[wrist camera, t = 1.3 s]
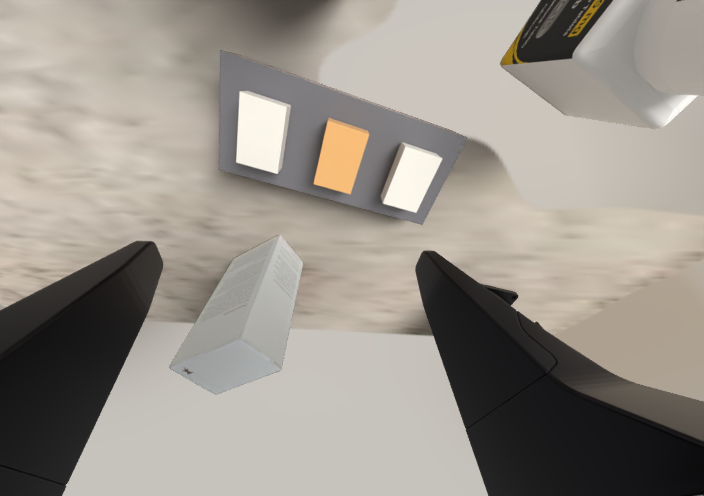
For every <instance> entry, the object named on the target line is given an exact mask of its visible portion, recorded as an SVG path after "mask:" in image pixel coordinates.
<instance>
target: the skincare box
mask: <svg viewBox="0 0 704 496" xmlns="http://www.w3.org/2000/svg"><path fill="white" fill-rule="evenodd" d="M302 267H303V262H302V260H301V259H300V258H299V257H298V256H297V254H296V253H295V252H294V251H293V250H292V248H291V247H290V246H289V245H288V244H287V242H286V241H285V240H284V239H283V237H282V236H281V235H278V236H276V237H274V238H272V239H270V240H268V241H266V242H264V243H262V244H261V245H259V246H257V247H255V248H253V249H251V250H249V251H247V252H245V253H243V254H242V255H240V256H238V257H236V258H234V259H233V261H232V263H231V264H230V266H229V268H228V269H227V271H226V272H225V274H224V276H223V277H222V279H221V281H220V282H219V284H218V286H217V288H216V289H215V291H214V293H213V294H212V296H211V298H210V299H209V301H208V302H207V304H206V306H205V307H204V309H203V311H202V312H201V314H200V316H199V317H198V319H197V321H196V322H195V324H194V326H193V327H192V329H191V331H190V332H189V334H188V336H187V337H186V339H185V341H184V342H183V344H182V345H181V347H180V349H179V351H178V352H177V354H176V356H175V358H174V359H173V361H172V362H171V364H170V367H169V368H170V369H172V370H173V371H175V372H177V373H178V374H180V375H182V376H184V377H185V378H187V379H189V380H191V381H192V382H194V383H195V384H197V385H199V386H201V387H202V388H204V389H206V390H208V391H210V392H212V393H214V394H220V393H222V392H225V391H227V390H230V389H232V388H235V387H238V386H240V385H243V384H246V383H249V382H252V381H254V380H257V379H260V378H262V377H265V376H268V375H271V374H273V373H276V372H279V371H280V370H281V369H282V364H283V359H284V355H285V350H286V345H287V340H288V335H289V330H290V325H291V320H292V316H293V311H294V306H295V301H296V296H297V291H298V287H299V282H300V277H301V272H302Z"/></svg>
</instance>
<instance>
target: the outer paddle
mask: <svg viewBox="0 0 704 496" xmlns="http://www.w3.org/2000/svg"><path fill="white" fill-rule="evenodd" d="M290 110H291V105H289V104H286V103H283V102H280V101H277V100H274V99H271V98H268V97H265V96H262V95H259V94H256V93H253V92H250V91H240V94H239V115H238V135H237V155H236V163H240V164H244V165H247V166H251V167H254V168H258V169H261V170H265V171H269V172H272V173H276V174H278V172H279V171H280V170H281V168H282V164H283V157H284V150H285V143H286V137H287V130H288V123H289V117H290Z"/></svg>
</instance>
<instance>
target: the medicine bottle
mask: <svg viewBox="0 0 704 496" xmlns="http://www.w3.org/2000/svg"><path fill="white" fill-rule="evenodd" d="M500 64H501V67H502V68H504V69H505V70H506V71H507V72H509V73H510V74H511V75H513V76H514V77H515V78H517V79H518V80H519V81H521V82H522V83H523V84H525V85H526V86H527V87H529V88H530V89H531V90H532V91H534V92H535V93H536V94H538V95H539V96H540V97H542V98H543V99H544V100H546V101H547V102H548V103H550V104H551V105H552V106H554V107H555V108H556V109H558V110H559V111H560V112H562V113H563V114H564V115H567V116H574V117H580V118H586V119H593V120H599V121H606V122H612V123H618V124H625V125H631V126H637V127H644V128H651V129H658V128H662V127H664V126H665V125H666V124H668V123H669V122H670V121H671V120H672V119H673V118H674V117H675V116H676V115H677V114H678V113H679V112H681V110H683V109H684V108H685V107H686V106H687V105H688V104H689V103H690V102H691V101H692V100H693V99H694V98H695V97H697V96H698V95H700V96H704V0H541V1H540V2H539V4H538V5H537V7H536V9H535V10H534V12H533V13H532V15H531V16H530V18H529V19H528V21H527V22H526V24H525V25H524V27H523V28H522V30H521V31H520V33H519V34H518V36H517V37H516V39H515V40H514V42H513V43H512V45H511V46H510V48H509V49H508V51H507V52H506V54H505V55H504V57H503V58H502V60H501V63H500Z"/></svg>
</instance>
